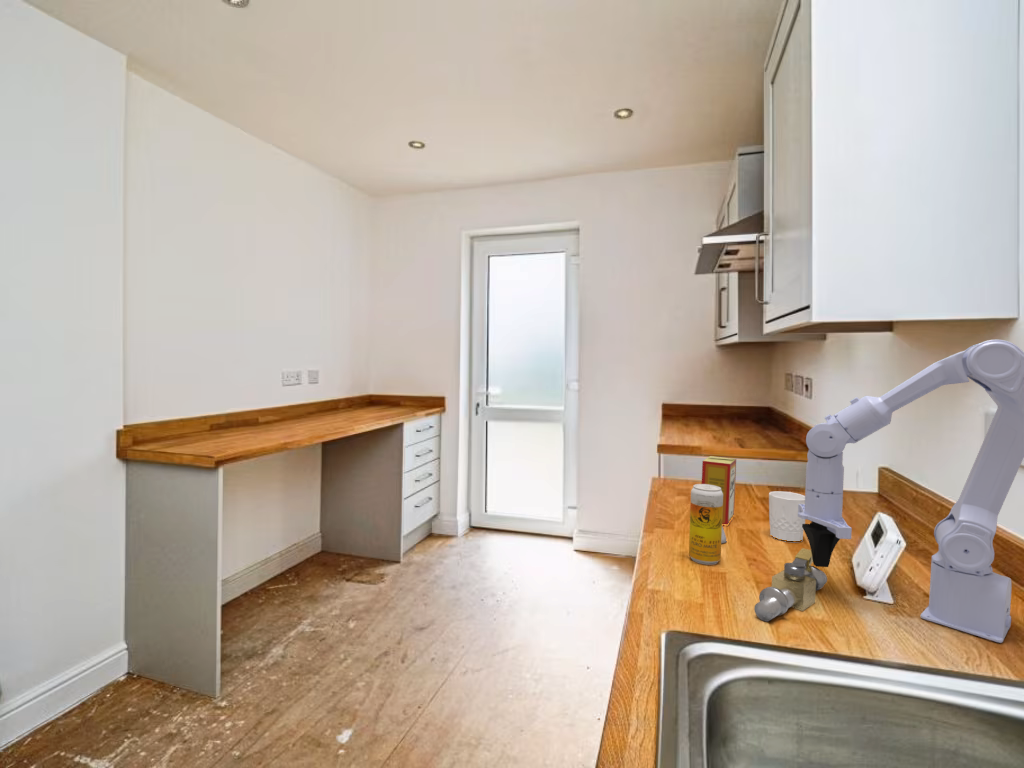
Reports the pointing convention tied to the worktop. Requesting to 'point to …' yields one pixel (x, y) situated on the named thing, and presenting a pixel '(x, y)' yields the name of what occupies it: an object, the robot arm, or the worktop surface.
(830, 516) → the robot arm
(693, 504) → the beer can
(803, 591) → the valve body
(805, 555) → the lever
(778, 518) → the white cup
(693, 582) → the worktop surface
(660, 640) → the worktop surface
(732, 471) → the baking soda box
